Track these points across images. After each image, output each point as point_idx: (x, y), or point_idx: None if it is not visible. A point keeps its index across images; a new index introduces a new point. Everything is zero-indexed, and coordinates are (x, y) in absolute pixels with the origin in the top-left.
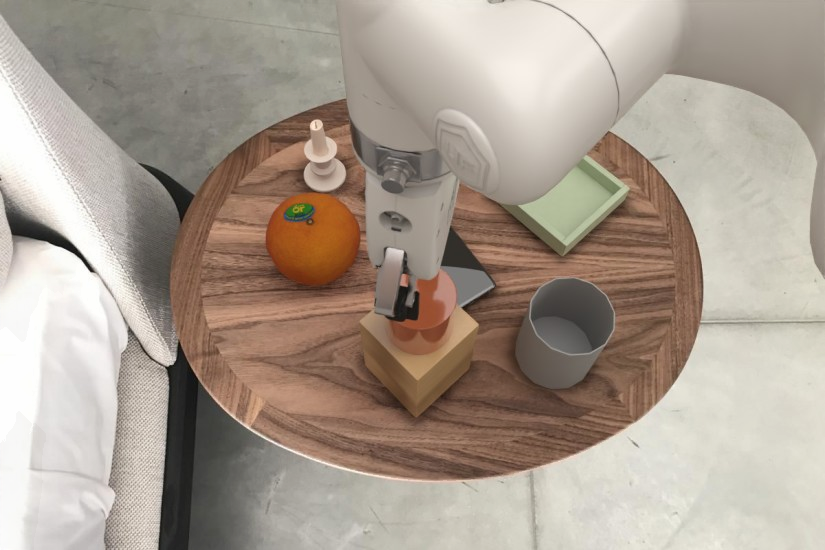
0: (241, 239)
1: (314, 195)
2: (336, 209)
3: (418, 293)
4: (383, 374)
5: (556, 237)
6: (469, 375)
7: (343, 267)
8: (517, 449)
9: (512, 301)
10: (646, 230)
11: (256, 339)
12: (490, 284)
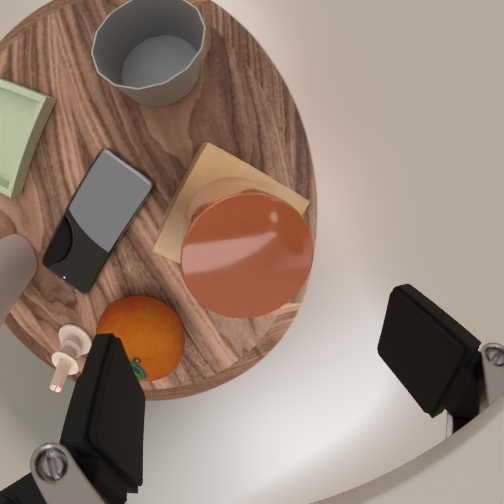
0: None
1: None
2: None
3: (473, 349)
4: None
5: (39, 110)
6: (208, 141)
7: (155, 306)
8: (269, 82)
9: (114, 125)
10: (21, 46)
11: (236, 330)
12: (105, 153)
